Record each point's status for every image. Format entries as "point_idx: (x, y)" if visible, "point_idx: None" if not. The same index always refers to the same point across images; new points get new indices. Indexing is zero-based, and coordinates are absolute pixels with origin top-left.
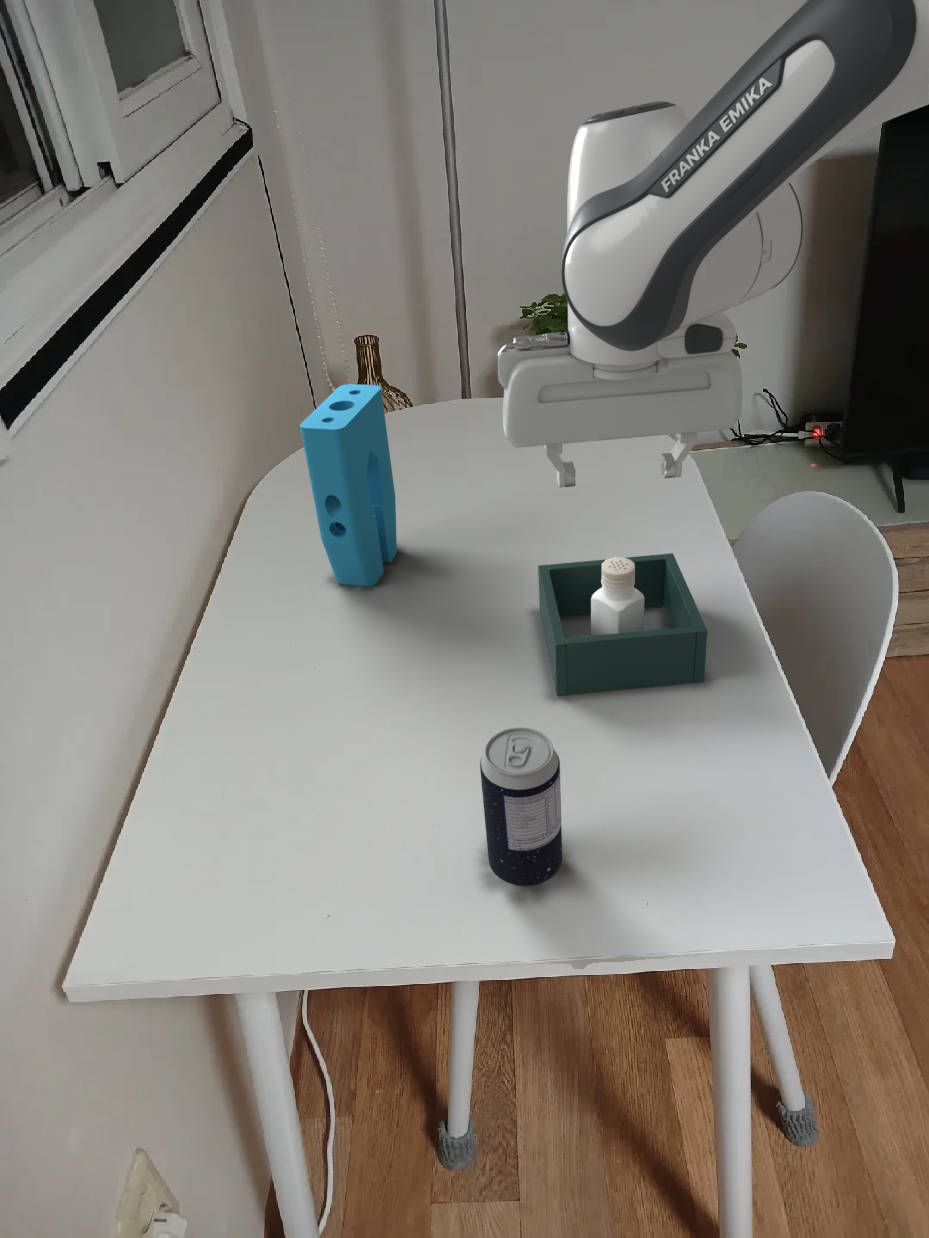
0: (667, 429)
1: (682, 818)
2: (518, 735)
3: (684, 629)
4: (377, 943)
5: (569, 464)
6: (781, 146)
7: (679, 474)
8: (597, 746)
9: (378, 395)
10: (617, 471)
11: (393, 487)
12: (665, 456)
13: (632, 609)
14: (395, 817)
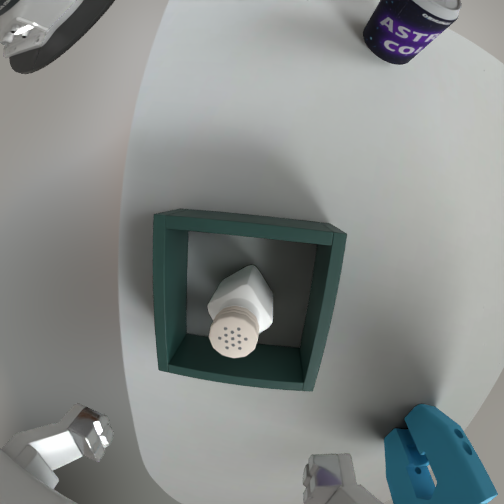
0: (33, 493)
1: (259, 48)
2: (437, 1)
3: (178, 224)
4: (460, 42)
5: (316, 500)
6: None
7: (76, 406)
8: (309, 139)
9: None
10: (190, 476)
11: (390, 481)
12: (90, 453)
13: (227, 290)
14: (465, 122)
